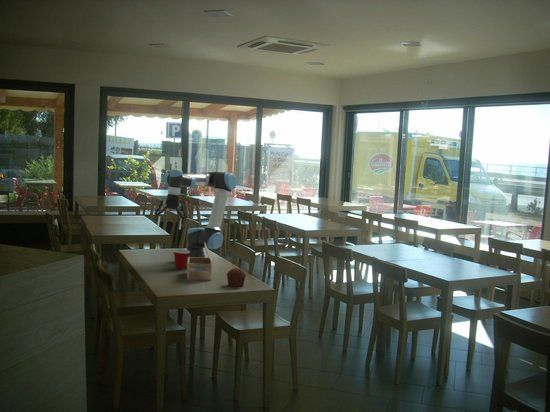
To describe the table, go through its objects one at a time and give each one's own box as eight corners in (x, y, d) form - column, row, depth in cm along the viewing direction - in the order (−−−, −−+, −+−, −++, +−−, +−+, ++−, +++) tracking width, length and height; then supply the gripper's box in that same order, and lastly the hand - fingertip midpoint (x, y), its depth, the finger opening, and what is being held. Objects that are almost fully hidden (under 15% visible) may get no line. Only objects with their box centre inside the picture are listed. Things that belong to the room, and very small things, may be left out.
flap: (210, 257, 363) (204, 242, 361) (211, 257, 363) (205, 242, 361) (211, 263, 344) (204, 247, 343) (211, 263, 344) (205, 247, 343)
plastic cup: (185, 270, 367) (186, 252, 366) (169, 269, 369) (170, 250, 368) (191, 267, 378) (192, 249, 377) (175, 266, 380) (176, 248, 379)
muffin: (246, 288, 330) (247, 271, 329) (227, 288, 328) (228, 270, 327) (243, 283, 342) (244, 266, 341) (225, 283, 340) (225, 266, 339)
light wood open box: (187, 272, 363) (188, 256, 362) (210, 273, 365) (211, 257, 364) (186, 280, 342) (187, 263, 341) (211, 280, 344) (211, 264, 343)
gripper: (152, 191, 356) (147, 225, 355) (192, 196, 357) (188, 230, 356) (154, 191, 363) (150, 225, 363) (194, 197, 364) (189, 230, 364)
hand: (168, 227), depth 360 cm, fingers open, 13 cm apart
